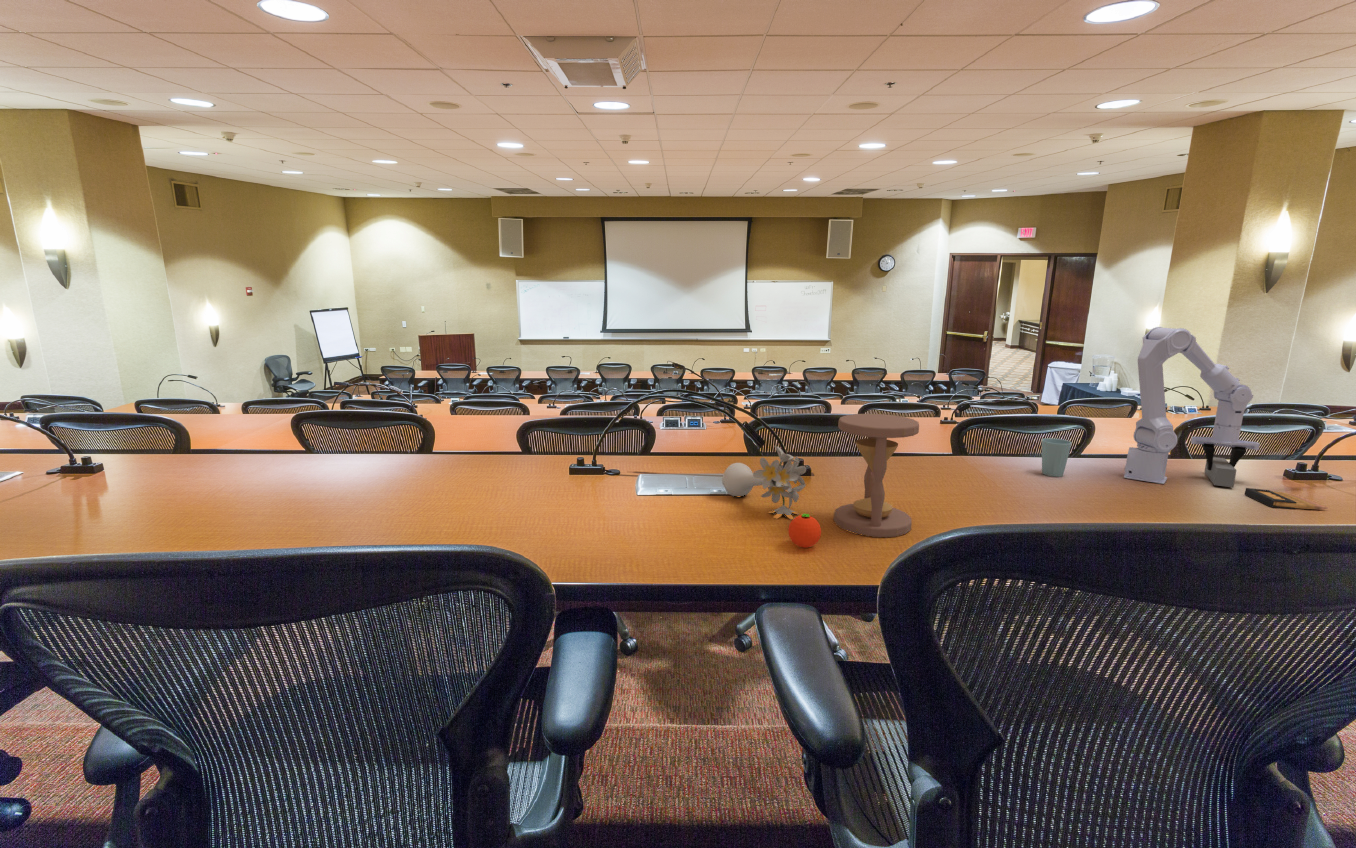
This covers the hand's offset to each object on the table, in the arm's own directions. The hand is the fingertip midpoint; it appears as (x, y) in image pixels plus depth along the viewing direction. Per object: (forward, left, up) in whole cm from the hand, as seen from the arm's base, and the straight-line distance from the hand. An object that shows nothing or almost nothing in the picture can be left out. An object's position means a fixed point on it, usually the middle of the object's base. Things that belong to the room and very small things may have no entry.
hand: (1219, 470), depth 175 cm
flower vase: (-86, -108, -3) cm, 138 cm away
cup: (-37, -25, -3) cm, 45 cm away
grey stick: (0, 0, -3) cm, 3 cm away
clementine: (-64, -123, -3) cm, 139 cm away
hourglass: (-59, -101, -3) cm, 117 cm away
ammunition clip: (+8, -18, -2) cm, 20 cm away
